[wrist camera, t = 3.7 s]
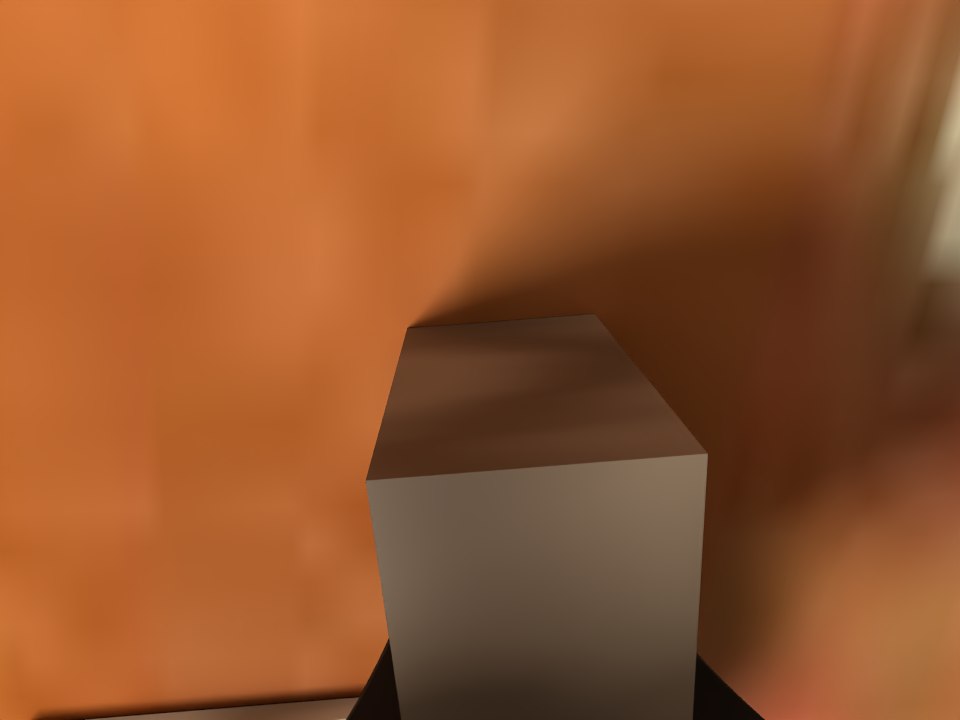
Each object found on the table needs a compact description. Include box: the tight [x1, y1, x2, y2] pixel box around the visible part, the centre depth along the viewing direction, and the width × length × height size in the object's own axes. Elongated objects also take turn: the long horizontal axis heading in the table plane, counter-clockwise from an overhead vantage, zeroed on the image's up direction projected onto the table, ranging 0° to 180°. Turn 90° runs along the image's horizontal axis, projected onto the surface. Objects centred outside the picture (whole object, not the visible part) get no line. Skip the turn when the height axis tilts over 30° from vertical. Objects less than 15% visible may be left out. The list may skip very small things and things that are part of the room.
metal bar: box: [366, 314, 708, 720], centre depth 12 cm, size 4×13×6 cm, turn 4°
